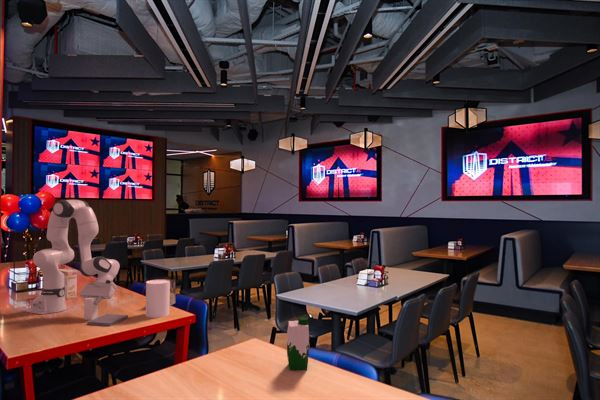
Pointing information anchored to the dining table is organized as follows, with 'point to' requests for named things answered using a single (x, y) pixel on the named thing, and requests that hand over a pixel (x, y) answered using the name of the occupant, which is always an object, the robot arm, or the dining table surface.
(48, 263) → the robot arm
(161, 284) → the canister
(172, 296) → the coffee box
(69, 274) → the coffeecake box
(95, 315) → the white post
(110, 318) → the slate board
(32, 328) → the dining table surface
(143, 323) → the dining table surface
